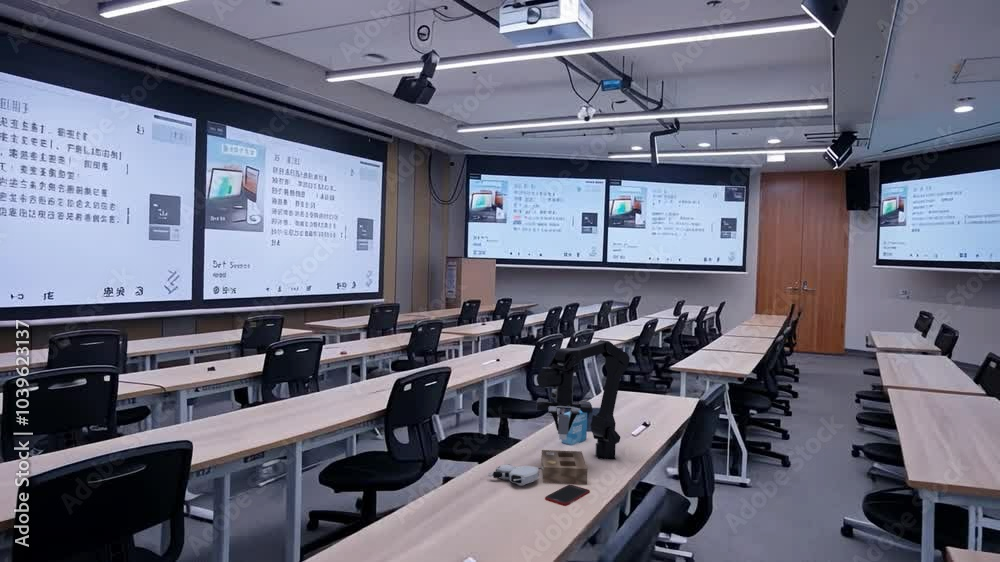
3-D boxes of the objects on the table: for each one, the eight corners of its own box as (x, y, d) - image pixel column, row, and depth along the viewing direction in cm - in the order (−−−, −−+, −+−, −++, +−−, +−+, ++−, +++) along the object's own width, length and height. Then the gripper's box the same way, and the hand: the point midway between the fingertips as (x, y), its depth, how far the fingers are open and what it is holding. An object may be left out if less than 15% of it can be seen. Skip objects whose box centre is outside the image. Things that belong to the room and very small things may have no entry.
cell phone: (590, 493, 185) (590, 490, 185) (565, 507, 173) (565, 504, 173) (569, 487, 189) (569, 483, 189) (543, 500, 178) (543, 497, 178)
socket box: (581, 465, 209) (581, 450, 209) (587, 484, 191) (587, 467, 191) (541, 464, 209) (541, 449, 209) (543, 482, 191) (543, 466, 191)
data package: (571, 446, 231) (571, 415, 230) (561, 444, 234) (562, 413, 233) (586, 440, 240) (587, 410, 240) (576, 437, 243) (577, 408, 243)
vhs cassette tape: (608, 430, 255) (608, 407, 255) (609, 432, 252) (609, 409, 252) (565, 429, 255) (565, 406, 255) (565, 431, 252) (566, 407, 252)
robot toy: (486, 484, 192) (526, 491, 183) (485, 470, 192) (525, 476, 184) (506, 473, 202) (545, 479, 194) (505, 460, 202) (544, 465, 194)
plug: (567, 437, 208) (568, 414, 208) (567, 440, 204) (568, 417, 204) (557, 437, 208) (558, 414, 208) (557, 439, 205) (558, 416, 205)
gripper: (590, 382, 213) (588, 426, 214) (537, 380, 215) (536, 423, 215) (592, 388, 202) (591, 434, 203) (537, 386, 203) (536, 431, 204)
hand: (563, 430), depth 206 cm, fingers closed on plug, 3 cm apart
